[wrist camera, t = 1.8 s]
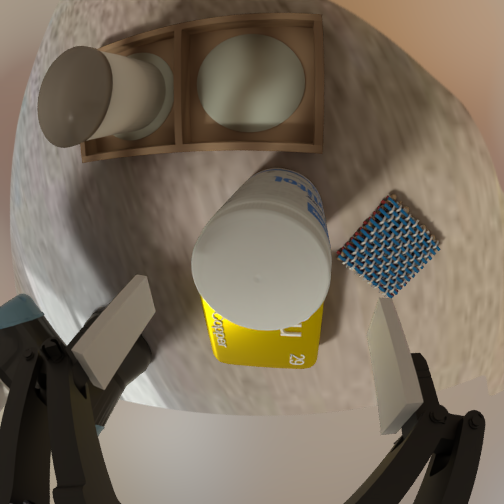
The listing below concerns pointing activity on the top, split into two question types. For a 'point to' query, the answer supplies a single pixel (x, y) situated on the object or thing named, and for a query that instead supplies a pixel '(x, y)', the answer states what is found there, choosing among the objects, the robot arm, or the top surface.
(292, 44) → the crate
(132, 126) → the canister
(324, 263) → the supplement tub
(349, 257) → the woven mat
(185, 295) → the top surface
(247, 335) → the element tile
